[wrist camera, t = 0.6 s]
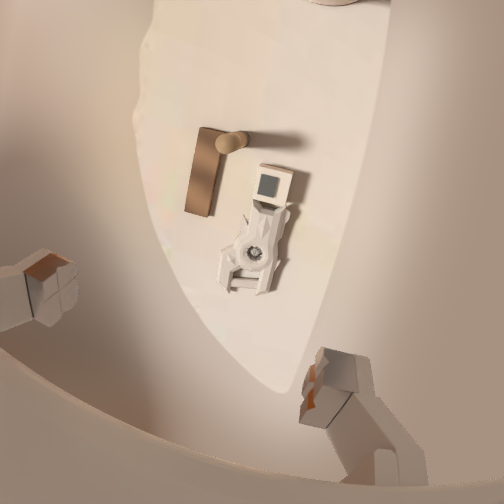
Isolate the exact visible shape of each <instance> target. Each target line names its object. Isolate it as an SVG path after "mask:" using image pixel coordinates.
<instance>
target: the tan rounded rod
mask: <svg viewBox="0 0 504 504" xmlns="http://www.w3.org/2000/svg"><path fill="white" fill-rule="evenodd" d="M249 141H250V138H249V135H248V134H247V133H246V132H244V131H237V132H232V133H226V134H222V135H220V136H219V137H218V138H217V139H216V142H215V146H216V149H217V150H218V151H219V152H220V153H222V154H229V153H232V152H234V151H236V150H238V149H241V148H243V147H245V146H247V145H248V143H249Z"/></svg>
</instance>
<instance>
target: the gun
mask: <svg viewBox="0 0 504 504" xmlns="http://www.w3.org/2000/svg"><path fill="white" fill-rule="evenodd" d="M286 205H287V204H286ZM286 205H285V207H283V206H282V207H279V208H277V209H271V208H267V207H262V206H261V204H260V203H259V202H258V201H257V200H255V199H253V201H252V207H251V212H250V218H249V222H248V221H247V219H246V218H245V216H244V215H243V219H242V224H241V229H240V234H239V235H238V237H237V239H236V241H235V243H234V244H233V245H231V246H229V247H227V248H224V249H222V250H221V252H220V257H219V265H218V272H217V280H216V282H217V283H218V284H219V285H220V286H221V287H222V288H223V289H224V290H225V291H226V292H228V293H230V291H231V287H238V288H249V289H257V291H256V295H260V294H265V293H269V290H270V286H271V282H272V278H273V274H274V271H275V270H276V268H277V267H278V265H279V263H280V262H281V261H280V260H281V258H280V259H277V258H278V241H279V240H280V239H281V238H282V235H283V230H284V226H285V223H286V222H287V221H288V220H289V217H290V213H291V212H290V211H289V210H287V209H286ZM251 246H253V247H252V248H251V249H249V248H250V247H251ZM261 252H262V254H260V253H261ZM259 254H260V255H259ZM241 268H242V269H245V270H248V271H251V272H252V271H261V272H260V277H259V279H247V278H233V273H234V271H236V270H239V269H241ZM256 295H255V296H256Z"/></svg>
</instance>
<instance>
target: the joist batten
mask: <svg viewBox="0 0 504 504" xmlns="http://www.w3.org/2000/svg"><path fill="white" fill-rule="evenodd" d="M222 134H226V132H222V131H217V130H212V129H208V128H203V127H200V129H199V134H198V138H197V143H196V148H195V154H194V159H193V164H192V169H191V175H190V180H189V186H188V192H187V198H186V204H185V210H184V211H185V212H189V213H192V214H196V215H199V216H203V217H206V218H207V217H208V216H209V212H210V207H211V202H212V197H213V192H214V187H215V182H216V177H217V172H218V168H219V163H220V158H221V154H222V153H220V152H219V151H218V150H217V149H216V146H215V142H216V139H217V138H218V137H219V136H220V135H222Z"/></svg>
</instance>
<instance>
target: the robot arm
mask: <svg viewBox="0 0 504 504" xmlns="http://www.w3.org/2000/svg"><path fill="white" fill-rule="evenodd" d="M308 1H311V2H314V3H317V4H322V5H332V6H336V5H346V4H350V3H353V2H356V1H358V0H308ZM77 275H78V270H77V265H76V264H75V263H74V262H72V261H70V260H68V259H66V258H64V257H62V256H59V255H57V254H55V253H53V252H50V251H48V250H46V249H40V250H38V251H37V252H35V253H34V254H32V255H30V256H29V257H27V258H26V259H24V260H22V261H21V262H19V263H18V264H16V265H15V266H13V267H12V266H5V267H0V332H2V331H5V330H7V329H10V328H12V327H15V326H17V325H20V324H22V323H25V322H28V321H30V320H33V319H35V320H37V321H39V322H41V323H42V324H44V325H46V326H48V327H50V328H51V327H52V326H53V325H54V324H55V323H56V322H57V321H58V320H59V319H60V318H61V317H62V312H63V311H67V310H69V309H71V308H72V307H73V306H74V305H75V303H76V301H77V299H78V295H79V285H78V283H77V281H76V279H75V277H76V276H77ZM302 396H303V397H304V401H303V403H302V405H301V407H300V417H299V423H301V424H305V425H309V426H313V427H318V428H322V429H326V430H325V431H326V433H327V435H328V437H329V439H330V441H331V443H332V445H333V447H334V449H335V451H336V453H337V455H338V457H339V459H340V460H341V462H342V464H343V466H344V468H345V470H346V472H347V474H348V476H346V477H345V478H344V479H343V480H341V481H340V482H339V483H337V482H328V481H321V480H314V479H307V478H301V477H295V476H290V475H285V474H280V473H275V472H270V471H265V470H261V469H257V468H253V467H248V466H245V465H241V464H237V463H233V462H230V461H226V460H222V459H219V458H216V457H213V456H209V455H206V454H203V453H200V452H197V451H194V450H191V449H188V448H185V447H182V446H180V445H177V444H174V443H172V442H169V441H167V440H164V439H161V438H159V437H156V436H154V435H151V434H149V433H147V432H144V431H142V430H139V429H137V428H135V427H133V426H131V425H128V424H126V423H124V422H122V421H120V420H118V419H116V418H114V417H111V416H110V415H107V414H105V413H103V412H101V411H100V410H98V409H96V408H94V407H92V406H90V405H88V404H86V403H84V402H83V401H81V400H79V399H77V398H76V397H74V396H72V395H70V394H69V393H67V392H65V391H63V390H62V389H60V388H58V387H57V386H55V385H53V384H52V383H50V382H49V381H47V380H46V379H44V378H42V377H41V376H39V375H38V374H36V373H35V372H33V371H32V370H31V369H29V368H28V367H26V366H25V365H23V364H22V363H20V362H19V361H18V360H16V359H15V358H13V357H12V356H10V355H9V354H8V353H7V352H5V351H4V350H3V349H1V348H0V504H504V477H502V478H497V479H491V480H484V481H477V482H471V483H470V482H469V483H461V484H449V485H434V486H429V484H428V476H427V470H426V463H425V457H424V451H423V450H422V449H421V447H420V446H419V445H418V444H417V442H416V441H415V440H414V439H413V438H412V436H411V435H410V434H409V433H408V431H406V429H405V428H404V427H403V425H402V424H401V423H400V422H399V421H398V419H397V418H396V417H395V416H394V415H393V413H392V412H391V411H390V410H389V408H388V407H387V406H386V405H385V404H384V402H383V401H382V400H381V399H380V398H379V397H375V391H374V384H373V378H372V371H371V364H370V359H369V358H368V357H365V356H360V355H355V354H349V353H345V352H341V351H337V350H332V349H329V348H325V347H321V348H320V349H319V350H318V352H317V354H316V358H315V364H314V365H312V366H310V368H309V370H308V372H307V374H306V377H305V380H304V383H303V388H302Z"/></svg>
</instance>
